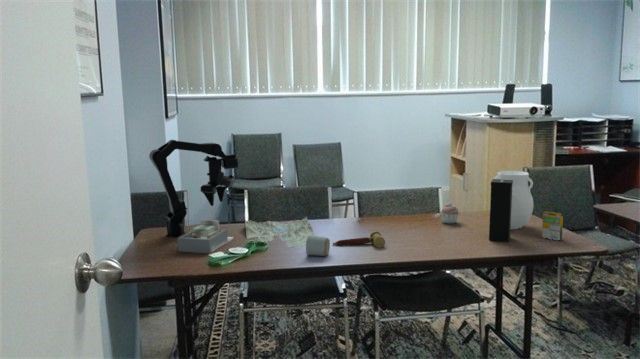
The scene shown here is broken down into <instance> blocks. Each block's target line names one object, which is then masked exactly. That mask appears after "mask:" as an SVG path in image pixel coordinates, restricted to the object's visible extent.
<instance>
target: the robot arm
mask: <svg viewBox="0 0 640 359" xmlns="http://www.w3.org/2000/svg"><path fill="white" fill-rule="evenodd" d="M175 150H179V151H181V150H182V151H189V152H197V153H198V152H199V153H202V154H203V153H204V154H205V155H206V157H205V158H204V159H203V161H204V162H206V163H207V162H208V172H207V173H206V175H207V176H208V181H207V183H205V184H202V185H201V186H200V192H202V194H203V195H204V197H205V198H206V199H207V202H208V203H209V205H210V206H211V207H214V205H215V204H214V202H215V194H216V195H217V197H218V199H219V202H221V203H223V201H224V198H225V197H224V196H225V193H226V190H227V189H228V188H231V187H233V185H234V183H235V182H236V181H235V175H233V174H229V175H225V173H224V172H223V171H222V168H223V169H224V170H234V169H238V167H239V161H238V159H237V155H236V154H235V153H233V154H232V153H231V154H226V153H225V152H224V151H223V149H222V146H221V145H220V144H219V143H215V142H203V143H199V142H198V143H197V142H189V141H183V140H175V139H170V140H168V141H167V142H166V143H164V144H162V145H161V146H160V147H158V148H157V149H155V148H154V149H153V150H151V151H150V152H149V160H150V162H151V163H152V165H153V166H154V168H155V170H156V171H157V172H158V175H159V178H160V180H161V183H162V185H163V188H164V190H165V193H166V195H167V198H168V204H169V206H168V207H169V212H167V214H166V215H165V219H166V233H167V234H165V237H170V238H171V237H173V238H178V237H180V236H182V235H184V234H186V232H185V229H184V228H185V227H184V224H183V222H184V218H185V217H186V216H187V214H188V212H187V210H188V208H187V206H186V202H185V200H184V199H182V198H179V196H178V193H177V191H176V188H175V186H174V183H173V180H172V177H171V174H170V173H169V169H168V160H167V157H169V156H170V155H171V154H173V152H174V151H175ZM210 156H211V157H210ZM217 157H218V158H217Z"/></svg>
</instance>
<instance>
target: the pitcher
mask: <svg viewBox="0 0 640 359" xmlns="http://www.w3.org/2000/svg"><path fill="white" fill-rule="evenodd" d="M502 173H503V180H513V184H512V205H511V227H510V230H519V228H520V229H522V227H523V226H525V225H526V224H527V223H528V221H529V220H530V219H531V216H532V215H533V212H534V198H533V195H532V193H531V189H532V188H533V185H534V182H533V179H532V178H531V177H530V173H529V172H527V171H522V170H501V171H497V174H496V176H494V177H493V178H492V180H493V179H502V177H501V174H502ZM528 182H529V186H528V185H527V183H528Z"/></svg>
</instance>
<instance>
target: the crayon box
mask: <svg viewBox="0 0 640 359" xmlns="http://www.w3.org/2000/svg"><path fill="white" fill-rule="evenodd" d="M552 214H553V215H552ZM563 223H564V216H562V213H560V212H553V211H545V210H544V211H543V213H542V228H541V229H542V230H541V238H542V237H543V238H542V239H546V238H548V239H547V240H552V239H553V241H554V240H555V241H558V240H560V241H562V240H561V239H563V227H564V226H563V225H564V224H563Z"/></svg>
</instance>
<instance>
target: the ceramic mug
mask: <svg viewBox="0 0 640 359" xmlns="http://www.w3.org/2000/svg"><path fill="white" fill-rule="evenodd" d="M305 244H306V245H305V253H306V255H307V256H317V257H326V256H328V255H329V253H330V249H331V247H330V246H331V245H330V244H331V242H330V239H329V238H328V237H325V236H318V235H315V236H312V235H309V236H308V238H307V242H305Z"/></svg>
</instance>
